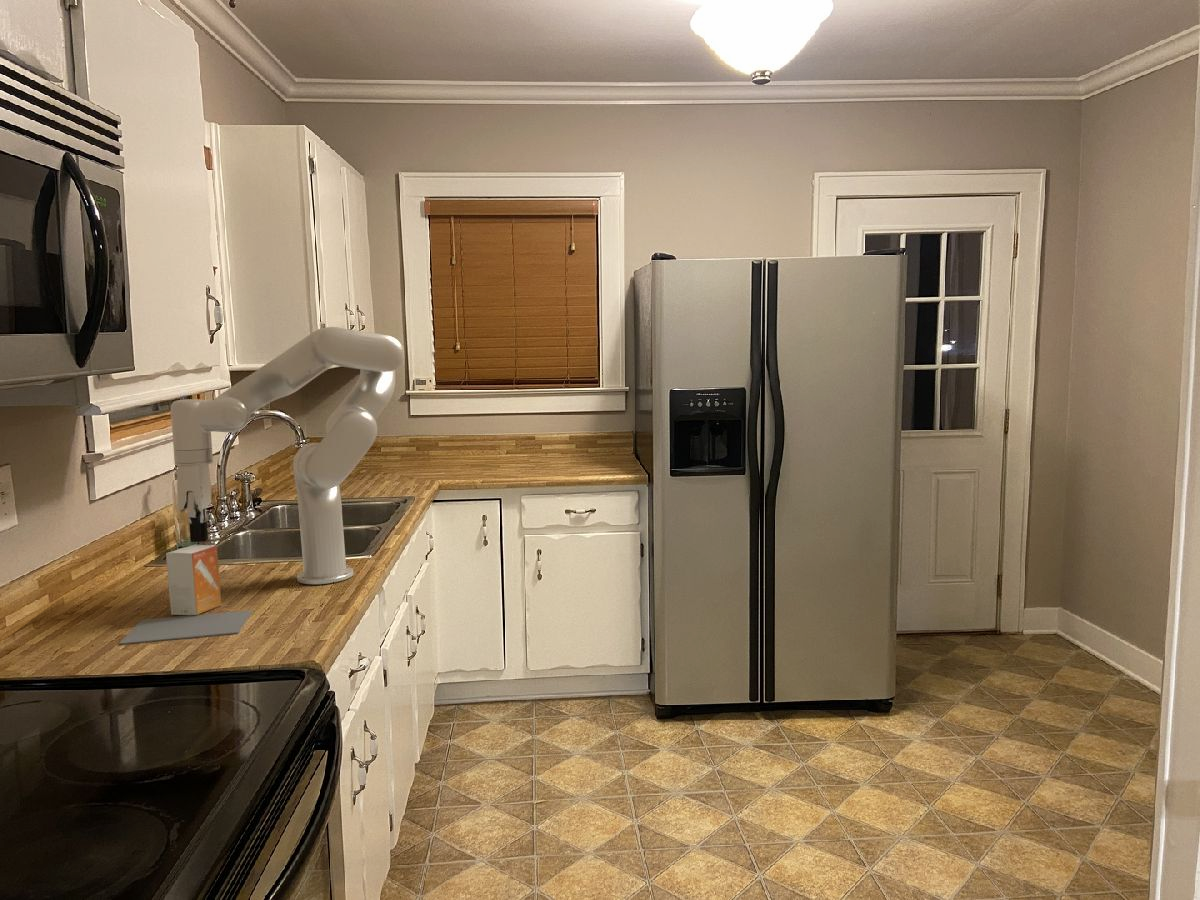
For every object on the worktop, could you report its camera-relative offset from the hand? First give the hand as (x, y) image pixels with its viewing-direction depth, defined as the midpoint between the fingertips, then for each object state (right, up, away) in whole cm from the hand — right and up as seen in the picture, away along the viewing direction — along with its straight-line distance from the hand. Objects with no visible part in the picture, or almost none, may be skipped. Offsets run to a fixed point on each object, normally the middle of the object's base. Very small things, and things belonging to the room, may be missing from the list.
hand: (199, 540), depth 191 cm
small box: (+3, -14, -8) cm, 16 cm away
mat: (+6, -15, -18) cm, 24 cm away
